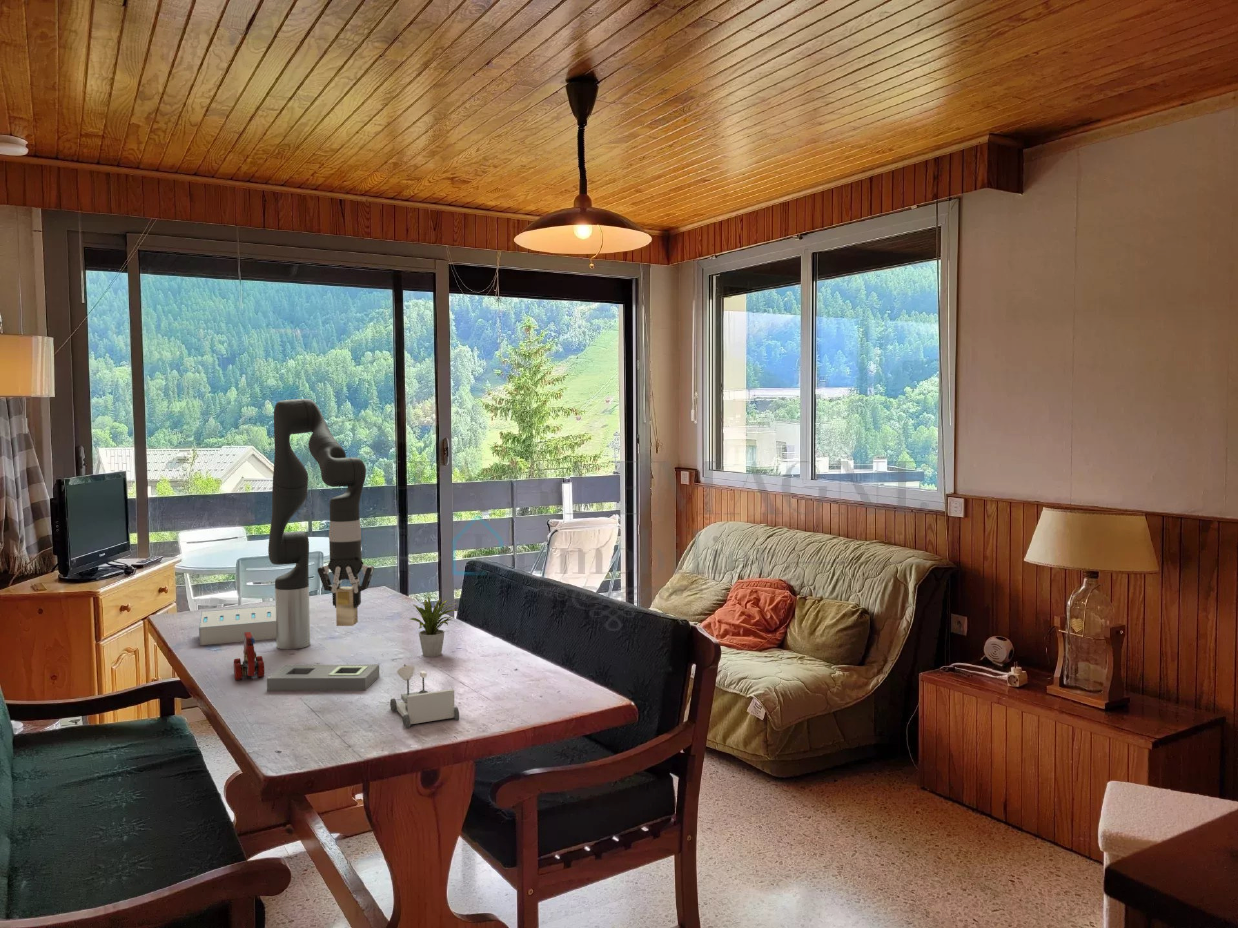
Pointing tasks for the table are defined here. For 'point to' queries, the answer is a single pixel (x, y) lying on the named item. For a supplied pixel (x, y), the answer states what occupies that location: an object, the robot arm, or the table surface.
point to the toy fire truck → (248, 660)
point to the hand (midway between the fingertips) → (346, 606)
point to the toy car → (423, 702)
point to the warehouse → (237, 624)
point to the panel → (323, 677)
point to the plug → (345, 607)
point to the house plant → (432, 627)
